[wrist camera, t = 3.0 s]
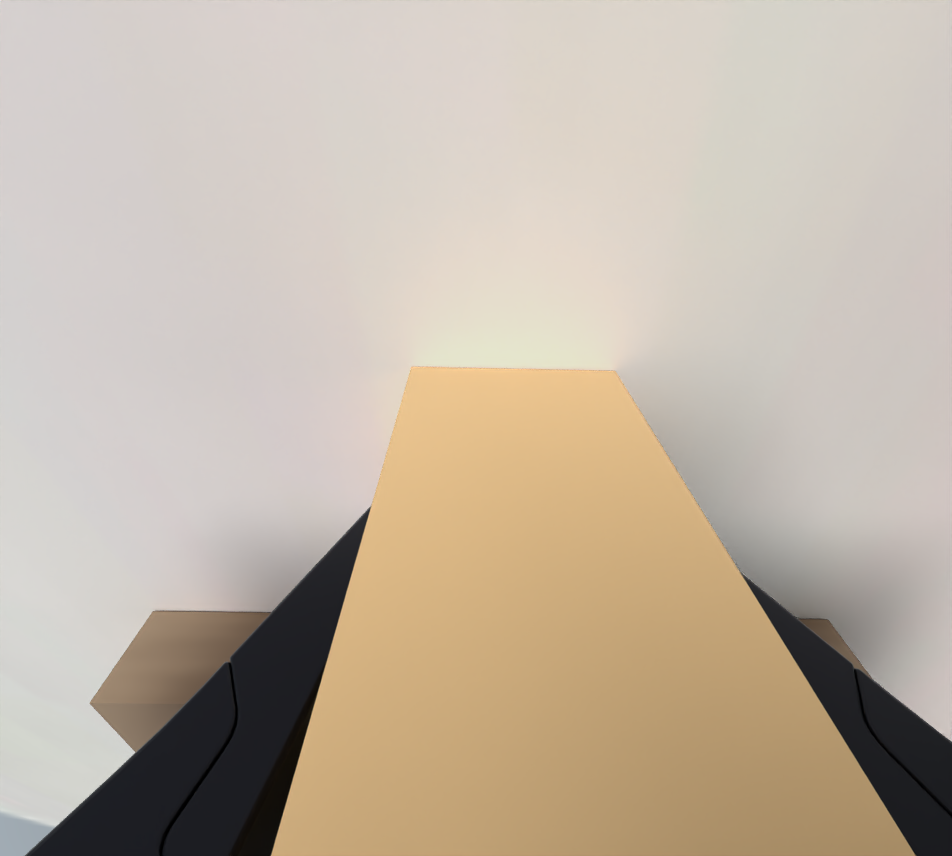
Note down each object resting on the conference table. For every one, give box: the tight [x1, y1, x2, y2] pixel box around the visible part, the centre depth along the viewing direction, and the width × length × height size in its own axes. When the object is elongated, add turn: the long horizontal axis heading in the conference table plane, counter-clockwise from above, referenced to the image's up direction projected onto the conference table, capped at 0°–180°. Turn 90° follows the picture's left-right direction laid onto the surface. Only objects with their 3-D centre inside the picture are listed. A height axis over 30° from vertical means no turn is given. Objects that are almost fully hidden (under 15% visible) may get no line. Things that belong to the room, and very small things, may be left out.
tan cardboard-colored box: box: [271, 367, 916, 856], centre depth 6 cm, size 4×4×8 cm
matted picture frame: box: [90, 611, 872, 752], centre depth 17 cm, size 20×18×3 cm
